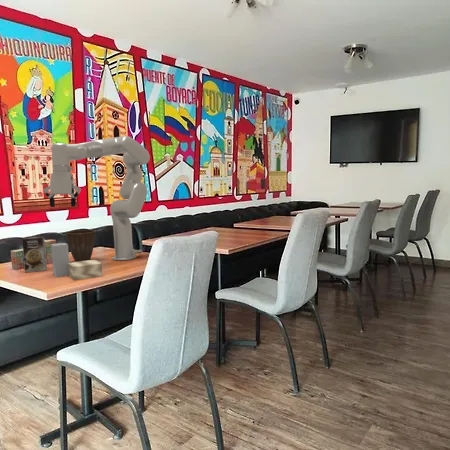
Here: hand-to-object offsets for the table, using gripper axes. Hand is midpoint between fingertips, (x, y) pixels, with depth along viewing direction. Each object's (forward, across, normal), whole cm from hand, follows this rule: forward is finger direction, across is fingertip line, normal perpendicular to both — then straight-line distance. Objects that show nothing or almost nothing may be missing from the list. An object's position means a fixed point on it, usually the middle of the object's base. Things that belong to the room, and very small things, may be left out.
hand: (62, 206), depth 196 cm
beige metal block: (+31, -14, +13) cm, 36 cm away
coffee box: (+31, +16, -4) cm, 35 cm away
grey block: (+31, -2, +9) cm, 32 cm away
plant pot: (+30, 0, -24) cm, 38 cm away
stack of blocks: (+31, +22, -17) cm, 42 cm away
